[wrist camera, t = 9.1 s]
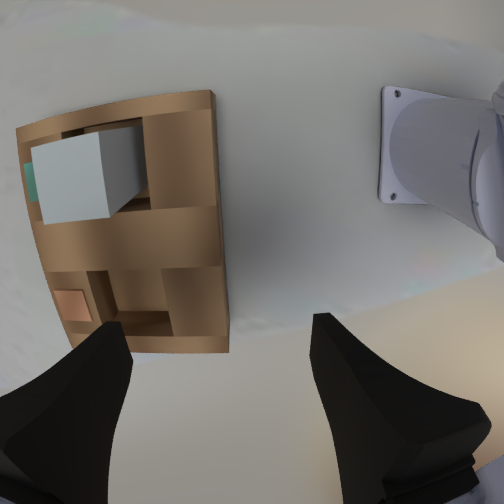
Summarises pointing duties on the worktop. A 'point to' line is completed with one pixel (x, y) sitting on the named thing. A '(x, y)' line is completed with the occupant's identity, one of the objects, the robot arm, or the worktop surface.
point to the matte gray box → (89, 174)
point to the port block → (142, 231)
